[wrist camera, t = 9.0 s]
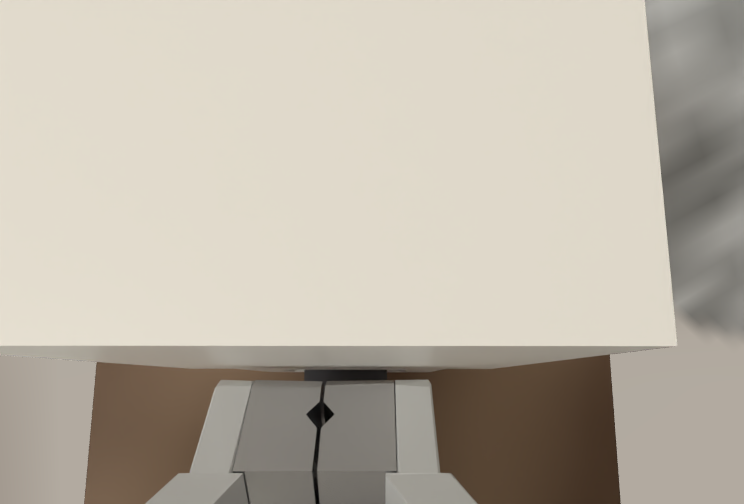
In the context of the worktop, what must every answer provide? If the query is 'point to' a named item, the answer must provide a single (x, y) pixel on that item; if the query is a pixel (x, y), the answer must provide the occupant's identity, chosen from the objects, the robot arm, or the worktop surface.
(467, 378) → the board
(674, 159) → the worktop surface
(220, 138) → the sleeve
